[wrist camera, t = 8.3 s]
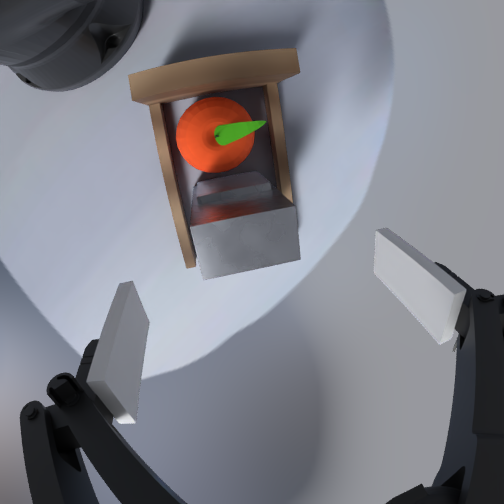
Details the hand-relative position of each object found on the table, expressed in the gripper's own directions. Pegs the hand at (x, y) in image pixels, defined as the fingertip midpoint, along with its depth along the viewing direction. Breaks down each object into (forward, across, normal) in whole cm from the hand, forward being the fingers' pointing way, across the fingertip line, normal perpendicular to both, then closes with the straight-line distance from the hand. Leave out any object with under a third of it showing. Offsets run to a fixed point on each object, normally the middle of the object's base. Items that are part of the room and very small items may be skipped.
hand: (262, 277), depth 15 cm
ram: (+17, 0, -1) cm, 17 cm away
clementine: (+18, 0, +6) cm, 19 cm away
